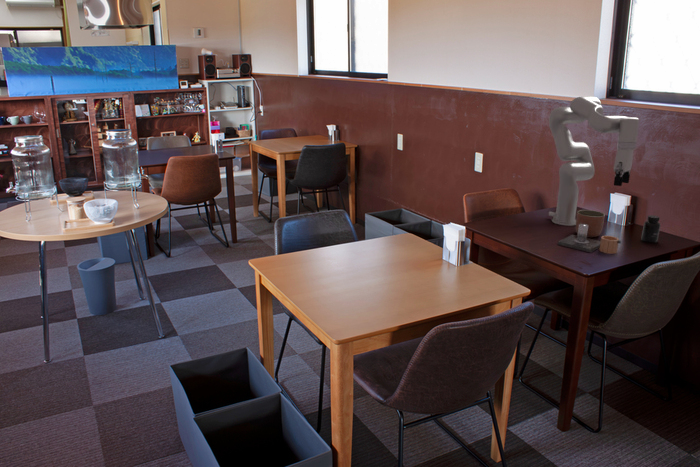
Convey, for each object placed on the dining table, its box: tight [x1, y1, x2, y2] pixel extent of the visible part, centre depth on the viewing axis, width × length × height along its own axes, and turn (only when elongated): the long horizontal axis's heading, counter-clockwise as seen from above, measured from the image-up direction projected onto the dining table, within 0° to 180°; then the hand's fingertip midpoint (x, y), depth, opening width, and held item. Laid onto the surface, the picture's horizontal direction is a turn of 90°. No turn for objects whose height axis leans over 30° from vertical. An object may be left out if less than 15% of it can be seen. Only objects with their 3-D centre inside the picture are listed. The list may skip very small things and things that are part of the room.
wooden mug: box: [598, 235, 622, 255], centre depth 241 cm, size 8×7×6 cm
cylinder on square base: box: [557, 224, 601, 253], centre depth 248 cm, size 15×15×10 cm
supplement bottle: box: [640, 214, 661, 244], centre depth 255 cm, size 7×7×12 cm
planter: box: [575, 209, 606, 238], centre depth 263 cm, size 12×12×11 cm
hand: (621, 184), depth 245 cm, fingers open, 9 cm apart
